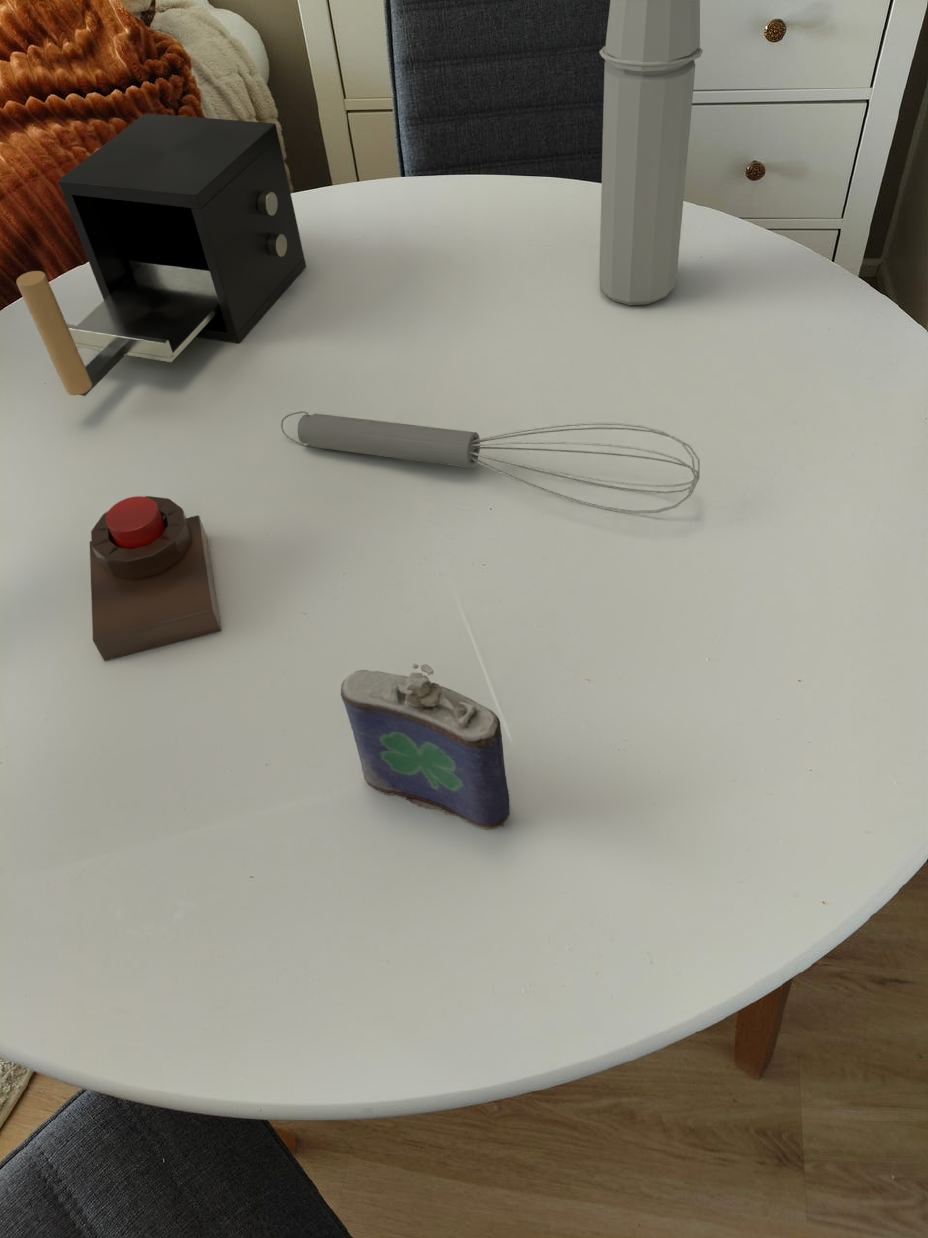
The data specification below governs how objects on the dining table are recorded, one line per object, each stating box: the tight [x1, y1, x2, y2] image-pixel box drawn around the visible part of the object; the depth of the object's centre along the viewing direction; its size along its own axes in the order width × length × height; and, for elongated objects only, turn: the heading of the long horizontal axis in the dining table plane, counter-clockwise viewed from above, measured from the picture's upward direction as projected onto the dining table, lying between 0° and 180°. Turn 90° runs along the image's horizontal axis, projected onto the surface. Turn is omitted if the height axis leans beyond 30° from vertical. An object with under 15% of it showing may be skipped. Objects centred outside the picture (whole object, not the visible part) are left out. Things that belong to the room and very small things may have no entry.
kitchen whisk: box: [280, 410, 701, 514], centre depth 74 cm, size 6×34×6 cm, turn 69°
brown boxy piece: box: [89, 495, 222, 662], centre depth 70 cm, size 11×8×4 cm
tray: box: [16, 258, 221, 397], centre depth 84 cm, size 11×19×10 cm, turn 160°
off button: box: [106, 495, 165, 549], centre depth 69 cm, size 4×4×2 cm
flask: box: [340, 663, 511, 830], centre depth 54 cm, size 9×3×11 cm, turn 65°
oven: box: [57, 112, 307, 344], centre depth 92 cm, size 15×14×14 cm
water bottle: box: [598, 0, 704, 306], centre depth 84 cm, size 9×8×25 cm
